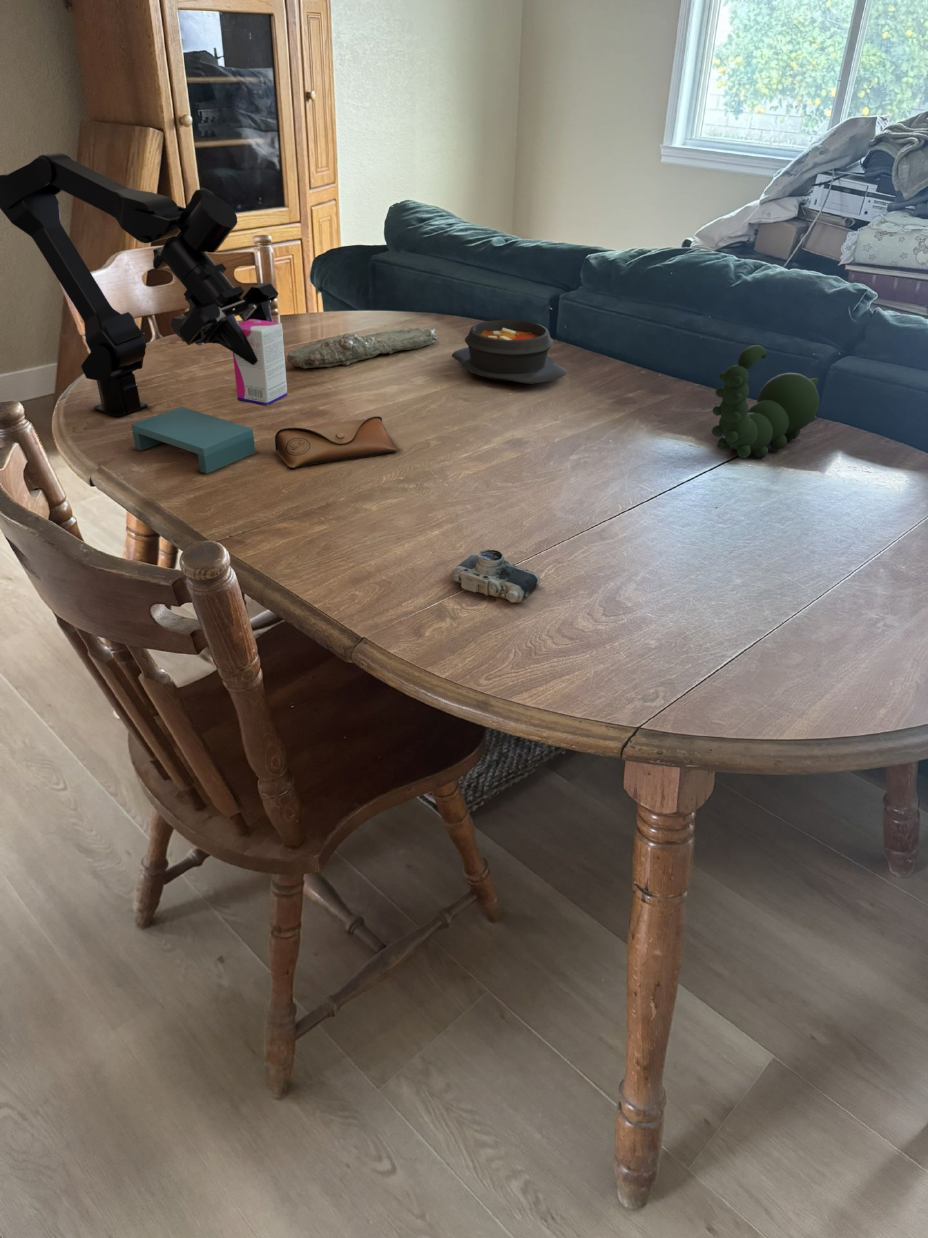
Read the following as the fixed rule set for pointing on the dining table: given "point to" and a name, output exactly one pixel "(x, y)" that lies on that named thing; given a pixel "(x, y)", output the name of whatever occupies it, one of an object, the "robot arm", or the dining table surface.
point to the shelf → (197, 436)
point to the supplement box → (262, 364)
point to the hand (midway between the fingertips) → (266, 357)
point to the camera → (495, 576)
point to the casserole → (509, 352)
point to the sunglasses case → (333, 442)
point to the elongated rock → (359, 347)
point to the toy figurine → (762, 408)
